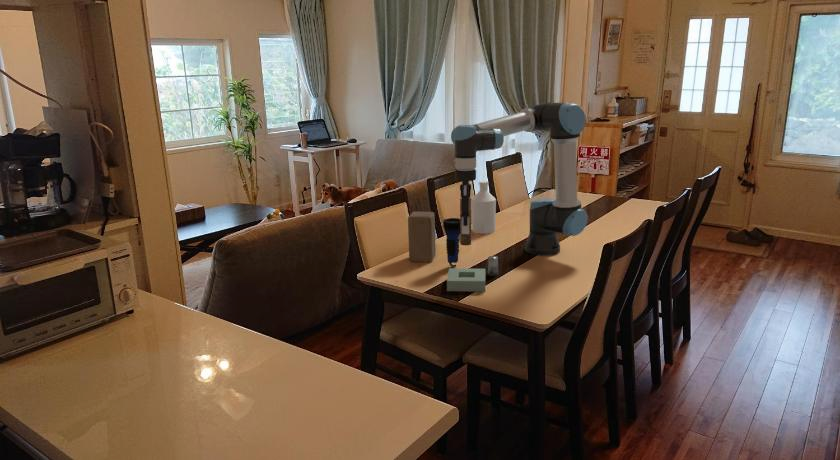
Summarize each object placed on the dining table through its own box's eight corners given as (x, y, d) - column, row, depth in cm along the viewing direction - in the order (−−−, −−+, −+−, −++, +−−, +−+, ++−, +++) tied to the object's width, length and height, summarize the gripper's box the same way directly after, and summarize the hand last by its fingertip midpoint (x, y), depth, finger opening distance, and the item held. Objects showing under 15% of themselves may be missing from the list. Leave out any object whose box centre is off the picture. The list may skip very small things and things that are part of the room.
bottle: (479, 226, 305) (479, 178, 299) (500, 229, 298) (500, 180, 292) (467, 232, 296) (467, 182, 289) (488, 235, 289) (488, 184, 283)
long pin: (471, 242, 221) (471, 197, 217) (471, 245, 217) (471, 200, 213) (460, 242, 222) (460, 197, 217) (460, 245, 218) (459, 200, 214)
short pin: (498, 272, 236) (498, 255, 234) (498, 276, 232) (498, 259, 230) (488, 272, 236) (488, 255, 235) (488, 275, 233) (488, 258, 231)
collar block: (485, 278, 230) (485, 268, 229) (485, 291, 216) (485, 281, 215) (449, 278, 231) (449, 268, 230) (447, 291, 218) (446, 280, 217)
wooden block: (431, 263, 250) (430, 217, 245) (408, 262, 252) (407, 216, 247) (436, 255, 260) (435, 211, 254) (413, 255, 262) (412, 211, 256)
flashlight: (460, 271, 239) (459, 223, 234) (441, 269, 242) (440, 222, 236) (465, 265, 246) (465, 218, 241) (447, 263, 249) (446, 217, 244)
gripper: (456, 165, 221) (456, 226, 227) (453, 173, 205) (454, 238, 211) (476, 165, 220) (476, 226, 226) (475, 172, 204) (475, 238, 210)
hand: (465, 231), depth 218 cm, fingers closed on long pin, 4 cm apart
